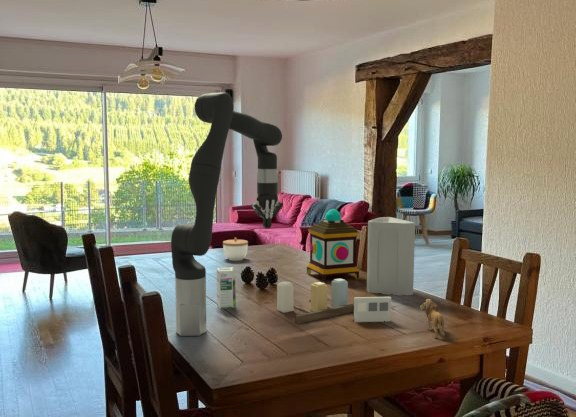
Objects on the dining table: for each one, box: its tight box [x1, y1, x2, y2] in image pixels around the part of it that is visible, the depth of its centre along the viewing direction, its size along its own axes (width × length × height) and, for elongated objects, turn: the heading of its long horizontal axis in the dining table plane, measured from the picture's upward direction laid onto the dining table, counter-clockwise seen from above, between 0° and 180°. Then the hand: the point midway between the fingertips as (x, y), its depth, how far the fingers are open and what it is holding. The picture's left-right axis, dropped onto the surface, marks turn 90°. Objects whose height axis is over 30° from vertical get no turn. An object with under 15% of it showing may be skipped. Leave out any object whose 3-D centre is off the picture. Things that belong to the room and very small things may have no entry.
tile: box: [353, 296, 392, 323], centre depth 183 cm, size 1×12×8 cm, turn 94°
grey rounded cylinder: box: [330, 278, 349, 308], centre depth 195 cm, size 4×4×10 cm
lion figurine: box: [419, 298, 447, 340], centre depth 172 cm, size 15×5×9 cm, turn 10°
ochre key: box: [310, 281, 328, 312], centre depth 190 cm, size 4×4×10 cm
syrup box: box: [216, 266, 237, 310], centre depth 196 cm, size 6×6×14 cm
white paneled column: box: [366, 216, 416, 296], centre depth 222 cm, size 19×15×28 cm
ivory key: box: [276, 281, 295, 313], centre depth 191 cm, size 4×4×10 cm
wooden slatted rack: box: [293, 299, 354, 325], centre depth 193 cm, size 20×28×4 cm
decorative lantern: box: [306, 208, 360, 283], centre depth 245 cm, size 20×20×30 cm
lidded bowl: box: [222, 237, 249, 262], centre depth 283 cm, size 13×13×11 cm
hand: (267, 228), depth 207 cm, fingers closed
